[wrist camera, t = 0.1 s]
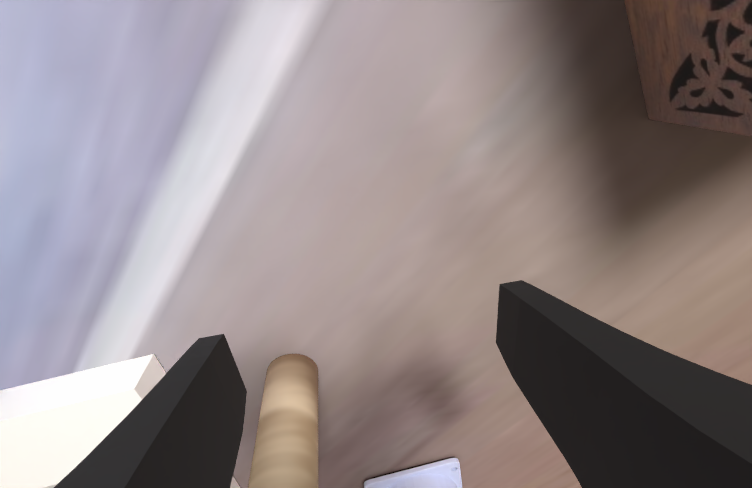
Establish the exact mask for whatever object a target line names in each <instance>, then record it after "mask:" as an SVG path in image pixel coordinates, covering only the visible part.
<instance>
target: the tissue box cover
mask: <svg viewBox="0 0 752 488" xmlns="http://www.w3.org/2000/svg"><path fill="white" fill-rule="evenodd" d="M624 2H625V7H626V11H627V16H628V21H629V26H630V31H631V36H632V41H633V46H634V50H635V55H636V60H637V65H638V70H639V75H640V80H641V84H642V89H643V94H644V99H645V104H646V109H647V114H648V119H651V120H657V121H663V122H668V123H674V124H680V125H686V126H692V127H698V128H704V129H710V130H716V131H722V132H728V133H734V134H740V135H746V136H752V0H624Z"/></svg>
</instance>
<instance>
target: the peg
mask: <svg viewBox="0 0 752 488" xmlns="http://www.w3.org/2000/svg"><path fill="white" fill-rule="evenodd" d="M248 488H318V368H317V365H316V364H315V362H314V361H313V360H312V359H310V358H309V357H307V356H304V355H300V354H287V355H283V356H280V357H278V358H276V359H275V360H274V361H272V362H271V364H270V365H269V367H268V369H267V374H266V380H265V386H264V392H263V399H262V405H261V411H260V417H259V423H258V429H257V435H256V441H255V448H254V454H253V460H252V466H251V472H250V478H249V484H248Z"/></svg>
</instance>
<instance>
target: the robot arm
mask: <svg viewBox="0 0 752 488" xmlns="http://www.w3.org/2000/svg"><path fill="white" fill-rule="evenodd" d="M496 344H497V346H498V348H499V350H500V352H501V354H502V356H503V359H504V361H505V363H506V365H507V367H508V369H509V371H510V373H511V375H512V377H513V378H514V380H515V382H516V383H517V385H518V386H519V388H520V389H521V391H522V393H523V394H524V396H525V397H526V399H527V400H528V402H529V404H530V405H531V407H532V408H533V410H534V411H535V413H536V414H537V416H538V417H539V419H540V420H541V422H542V424H543V425H544V427H545V428H546V430H547V431H548V433H549V434H550V436H551V437H552V439H553V440H554V442H555V444H556V445H557V447H558V448H559V450H560V451H561V453H562V454H563V456H564V457H565V459H566V461H567V462H568V464H569V466H570V467H571V469H572V471H573V472H574V474H575V476H576V477H577V479H578V481H579V483H580V485H581V487H582V488H752V385H750V384H748V383H745V382H742V381H739V380H737V379H734V378H731V377H728V376H726V375H723V374H720V373H718V372H715V371H713V370H710V369H708V368H705V367H703V366H700V365H698V364H695V363H693V362H690V361H688V360H685V359H683V358H680V357H678V356H675V355H673V354H671V353H668V352H666V351H664V350H661V349H659V348H657V347H655V346H652V345H650V344H648V343H646V342H644V341H642V340H639V339H637V338H635V337H633V336H631V335H629V334H626V333H624V332H622V331H620V330H618V329H616V328H614V327H612V326H610V325H608V324H606V323H604V322H602V321H600V320H598V319H596V318H594V317H592V316H590V315H588V314H586V313H584V312H582V311H580V310H578V309H577V308H575V307H573V306H571V305H569V304H567V303H565V302H563V301H561V300H559V299H558V298H556V297H554V296H552V295H550V294H548V293H546V292H544V291H542V290H540V289H538V288H537V287H535V286H533V285H530V284H528V283H526V282H524V281H522V280H521V281H515V282H510V283H504V284H500V287H499V303H498V319H497V335H496ZM246 393H247V390H246V388H245V385H244V383H243V381H242V378H241V376H240V373H239V371H238V368H237V366H236V363H235V361H234V358H233V356H232V353H231V351H230V348H229V346H228V343H227V341H226V338H225V336H224V334H221V335H216V336H210V337H205V338H199V339H198V340H197V341H196V342H195V343H194V344H193V345H192V346H191V347H190V348H189V349H188V350H187V351H186V352H185V354H184V355H183V356H182V357H181V358H180V359H179V360H178V361H177V362H176V363H175V365H174V366H173V367H172V368H171V369H170V370H169V371H168V372H167V373H166V374H165V376H164V377H163V378H162V379H161V380H160V381H159V382H158V383H157V384H156V385H155V386H154V387H153V389H152V390H151V391H150V392H149V393H148V394H147V395H146V396H145V397H144V398H143V399H142V400H141V401H140V403H139V404H138V405H137V406H136V407H135V408H134V409H133V410H132V411H131V412H130V413H129V414H128V415H127V416H126V417H125V418H124V419H123V420H122V421H121V422H120V423H119V424H118V425H117V426H116V427H115V428H114V429H113V430H112V431H111V432H110V433H109V434H108V435H107V436H106V437H105V438H104V439H103V440H102V441H101V442H100V443H99V444H98V445H97V446H96V447H95V448H94V449H93V450H92V452H91V453H90V454H89V455H88V456H87V457H86V458H85V459H83V460H82V461H81V462H80V463H79V464H78V465H77V466H76V467H75V468H74V469H73V470H72V471H71V472H70V473H69V474H68V475H67V476H66V477H64V478H63V479H62V480H61V481H60V482H59V483H58V484H57V485H56V486H55V487H54V488H230V485H231V481H232V477H233V472H234V468H235V464H236V459H237V455H238V450H239V446H240V441H241V436H242V432H243V423H244V415H245V404H246ZM364 488H462V480H461V472H460V463H459V461H458V459H457V458H449V459H446V460H442V461H438V462H434V463H430V464H426V465H423V466H419V467H415V468H411V469H407V470H403V471H400V472H396V473H392V474H388V475H384V476H380V477H377V478H373V479H369V480H367V481H365V482H364Z"/></svg>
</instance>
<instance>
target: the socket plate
mask: <svg viewBox="0 0 752 488" xmlns="http://www.w3.org/2000/svg"><path fill="white" fill-rule="evenodd" d="M165 374H166V372H165V370H164V369H163V367H162V366H161V364H160V363H159V361H158V360H157V358H156V357H155V355H154V354H152V355H147V356H143V357H139V358H135V359H131V360H126V361H122V362H118V363H114V364H109V365H105V366H101V367H97V368H93V369H88V370H84V371H80V372H76V373H71V374H67V375H63V376H59V377H54V378H50V379H46V380H42V381H38V382H33V383H29V384H25V385H21V386H16V387H12V388H8V389H4V390H0V488H54V487H55V486H56V485H57V484H58V483H59V482H60V481H61V480H62V479H63V478H64V477H66V476H67V475H68V474H69V473H70V472H71V471H72V470H73V469H74V468H75V467H76V466H77V465H78V464H79V463H80V462H81V461H82V460H83V459H85V458H86V457H87V456H88V455H89V454H90V453H91V452H92V450H93V449H94V448H95V447H96V446H97V445H98V444H99V443H100V442H101V441H102V440H103V439H104V438H105V437H106V436H107V435H108V434H109V433H110V432H111V431H112V430H113V429H114V428H115V427H116V426H117V425H118V424H119V423H120V422H121V421H122V420H123V419H124V418H125V417H126V416H127V415H128V414H129V413H130V412H131V411H132V410H133V409H134V408H135V407H136V406H137V405H138V404H139V403H140V401H141V400H142V399H143V398H144V397H145V396H146V395H147V394H148V393H149V392H150V391H151V390H152V389H153V387H154V386H155V385H156V384H157V383H158V382H159V381H160V380H161V379H162V378H163V377H164V376H165ZM230 488H240V486H239V485H238V483H237V481H236V480H235V478H234V477H232V481H231V485H230Z"/></svg>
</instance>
